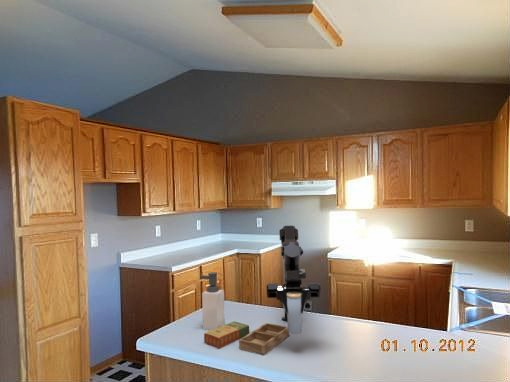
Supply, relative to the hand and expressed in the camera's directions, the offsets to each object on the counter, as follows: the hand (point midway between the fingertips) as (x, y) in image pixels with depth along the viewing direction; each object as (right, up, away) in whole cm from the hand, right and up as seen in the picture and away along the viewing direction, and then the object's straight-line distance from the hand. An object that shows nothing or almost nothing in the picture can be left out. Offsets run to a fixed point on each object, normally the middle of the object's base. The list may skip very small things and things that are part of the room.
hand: (294, 313), depth 125 cm
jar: (0, -7, +1) cm, 7 cm away
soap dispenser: (-31, -14, +26) cm, 43 cm away
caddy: (-10, -14, +10) cm, 19 cm away
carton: (-24, -15, +13) cm, 31 cm away
